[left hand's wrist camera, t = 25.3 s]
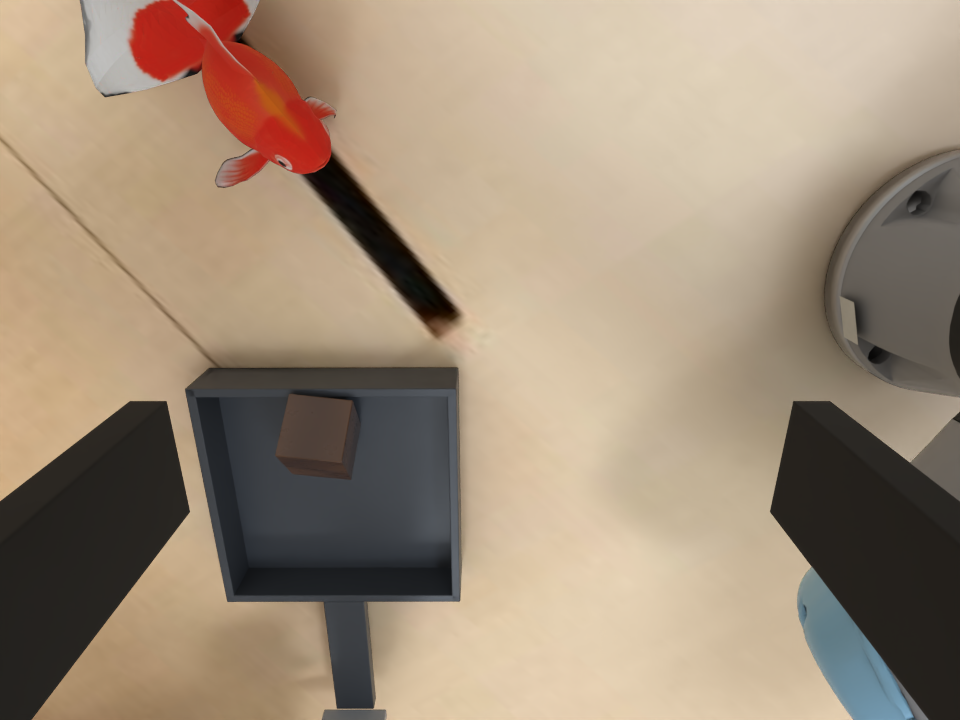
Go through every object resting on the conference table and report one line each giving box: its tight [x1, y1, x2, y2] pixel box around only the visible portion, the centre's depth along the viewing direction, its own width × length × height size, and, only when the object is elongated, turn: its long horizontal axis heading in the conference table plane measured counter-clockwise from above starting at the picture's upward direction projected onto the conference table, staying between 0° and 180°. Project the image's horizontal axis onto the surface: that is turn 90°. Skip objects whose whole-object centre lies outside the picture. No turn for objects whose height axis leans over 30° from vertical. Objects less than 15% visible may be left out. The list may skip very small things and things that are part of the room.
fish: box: [80, 0, 336, 188], centre depth 30 cm, size 11×16×10 cm
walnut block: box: [275, 394, 361, 480], centre depth 38 cm, size 4×4×5 cm
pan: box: [185, 368, 462, 720], centre depth 42 cm, size 17×29×9 cm, turn 0°
